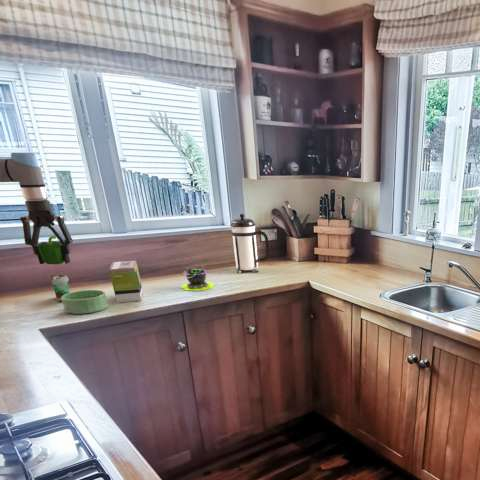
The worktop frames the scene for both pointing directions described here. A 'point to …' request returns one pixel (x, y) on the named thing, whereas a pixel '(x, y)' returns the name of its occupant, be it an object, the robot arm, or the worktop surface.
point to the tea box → (126, 281)
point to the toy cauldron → (196, 280)
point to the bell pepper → (51, 251)
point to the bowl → (84, 301)
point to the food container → (60, 285)
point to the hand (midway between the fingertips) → (55, 263)
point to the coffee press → (246, 244)
